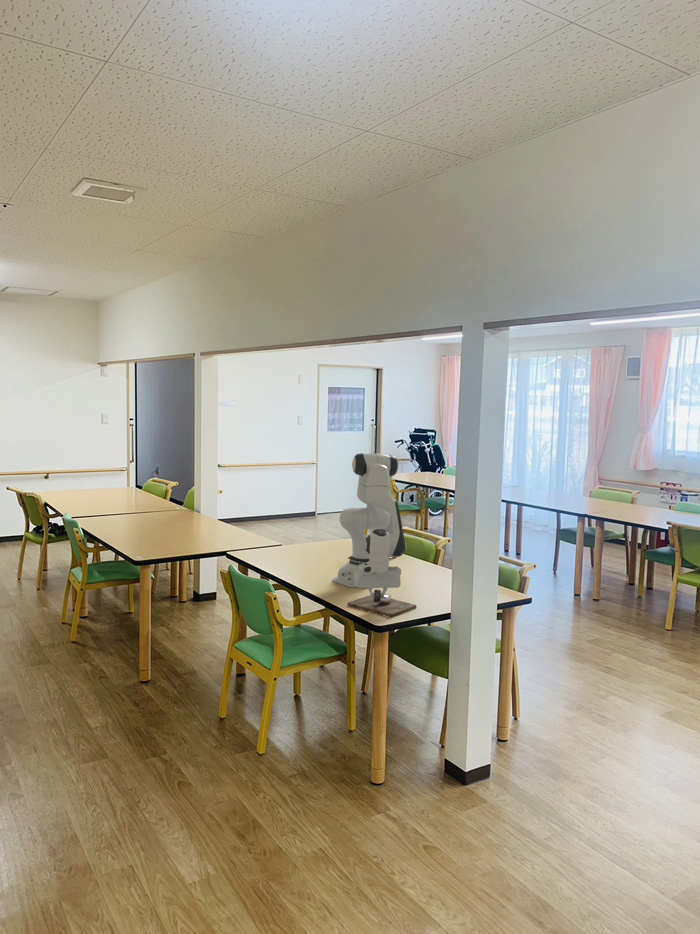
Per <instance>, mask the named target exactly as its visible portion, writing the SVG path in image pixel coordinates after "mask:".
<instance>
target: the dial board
mask: <svg viewBox="0 0 700 934" xmlns="http://www.w3.org/2000/svg"><path fill="white" fill-rule="evenodd" d="M373 602H374V598H371V597H370V594H369V595H367V596H364V597H361V598H357V599H354V600H352V601H349V602H347V607H351V608H353V607H354V608H353V609H357V608H358V609H357V610H361V609H362V610H361V611H364V610H365V612H368V611H370V612H369V613H372V612H373V614H375V613H377V615H379V614H381V615H380V616H383V615H385V616H384V617H386V616H388V617H387V618H390V617H391V619H392V617H393V618H394V616H395V617H398V616H400V615H403V614H405V613H407V612H410V610H411V611H413V610H415V608H416V609H417V604H415V603H410V602H407V601H404V600H403V601H402V600H398V599H394V598H391V603H389V604H378V605H373ZM402 613H403V614H402ZM397 615H398V616H397Z"/></svg>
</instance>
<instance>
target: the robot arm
mask: <svg viewBox="0 0 700 934" xmlns="http://www.w3.org/2000/svg"><path fill="white" fill-rule="evenodd" d="M351 467H352V472H353V473H354V474H355V475H357V476H358V480H357V490H356V496H357V497H356V498H357V500H359V501H360V502H361V503H363V504H366V507H349V508H345V509H343V510H342V511H341V513H340V515H339V523H340V526H341V527H342V528H343V529H345V530H346V531H347V533H348V534H349V536H350V538H351V543H352V554H351V555H350V556H348V557H347V560H349V561H348V562H347V563H346V564H345V565H343V566H341V567H340V569H338V572H337V576H336V577H334V578H333V579H332V582H334V583H337V584H340V585H343V586H346V587H349V588H357V589H368V592H369V593H370V594H369V595H370V597H371V598H374V597H375V594H374V592H373V589H383V590H382V591H381V598H383V597H384V594H386V593H387V591H388V589H389V588H391V589H392V588H393V589H396V588H400V587H401V575H402V569H401V567H399V566H390V558H389V557H388V556H395V557H396V558H397V557H398V558H399V557H402V555H404V554H405V553H406V550H407V543H406V538H405V534H404V530H403V529H404V528H403V523H402V517H401V512H400V506H399V504H398V500H397V499H396V498H394V497H393V495H392V491H391V477H394V476H395V475H396V474H397V473H398V470H399V461H398V458H397V457H396V456H395V455H393V454H386V453H385V454H384V453H377V452H376V453H362V452H361V453H356V454H355V455H354V456H353V459H352V462H351ZM389 514H390V515H389ZM390 516H391V518H392V524H393V530H394V534H392V535H390V534H389V533H388V531H386V530H383V528H386V527H387V526H388V525H389V522H390ZM365 530H367V531H368V530H369V531H370V530H372V531H371V533H370V534H369V535H366V534H365Z"/></svg>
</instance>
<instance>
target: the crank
mask: <svg viewBox="0 0 700 934" xmlns="http://www.w3.org/2000/svg"><path fill="white" fill-rule="evenodd" d="M373 593H374V594H375V597H374V602H373V605H378V604H389V603H391V599H392V596H391V594H389V593H385V594H384V597H383V598H381V593H382V590H381V589H374V590H373Z"/></svg>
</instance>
